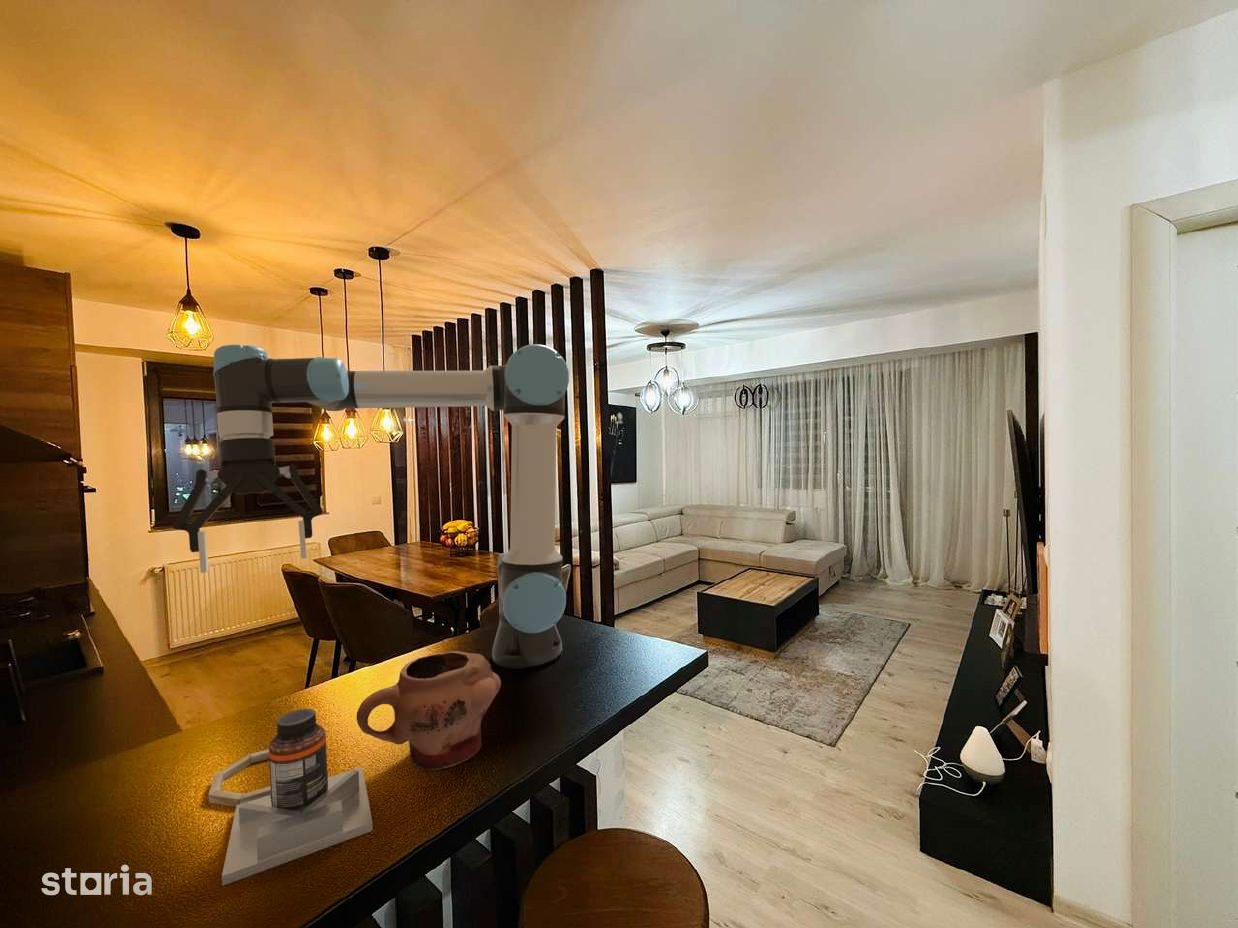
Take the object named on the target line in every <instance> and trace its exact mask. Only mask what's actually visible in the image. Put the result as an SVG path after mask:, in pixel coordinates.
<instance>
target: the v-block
mask: <svg viewBox="0 0 1238 928" xmlns="http://www.w3.org/2000/svg"><path fill="white" fill-rule="evenodd" d="M365 779H366V778H365V775H364V769H363V766H360V767H358V768H357V767H356V768H353V769H350V770H348V771H345V772H341V773H337V774H334V775H331V776H328V791H326V792H325V793H324V794H323V795H322V796H320V797H319V798H318V799H317V800H315V801H314V802H313V803H312V804H310V805H309V806H308V807H307V808H305V809H304V810H303V811H302V812H300V811H293V810H287V809H281V808H274V807H272V804H271V798H270V796H271V795H269V796H265V797H262V798H259V799H256V800H252V801H249V802H246V803H243V804H239V805H237V806H236V807H235V812H234V815H233V822H232V827H231V830H230V836H229V841H228V846H227V850H226V854H225V858H224V859H225V860H224V864H223V869H222V873H221V887H223V886H226V885H229V884H231V883H234V882H236V881H240V880H242V879H245V878H248V877H250V876H254V875H257V874H259V873H262V872H264V871H267V870H270V869H272V868H275V867H278V866H280V865H283V864H286V863H288V862H291V861H293V860H296V859H300V858H302V857H305V856H308V855H310V854H313V853H315V852H318V851H321V850H324V849H327V848H330V847H332V846H334V845H338V844H340V843H343V842H345V841H348V840H350V839H353V838H356V837H359V836H361V835H364V834H367V833H369V832H370V833H371V832H372V831H374V829H373V827H374V825H373V819H372V818H373V817H372V812H371V807H370V801H369V796H368V791H367V786H366V780H365Z"/></svg>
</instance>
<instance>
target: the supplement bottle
mask: <svg viewBox="0 0 1238 928" xmlns="http://www.w3.org/2000/svg"><path fill="white" fill-rule="evenodd" d="M276 726H277V729H276V730H277V731H276V732H277V734H276V735H275V736H274V737H273V738H272V739H271V740H270V741H269V742H270V743H269V746H268V749H269V759H268V760H269V761H268V762H269V765H268V766H269V781H270V782H269V783H270V785H269V786H271V796H270V798H271V804H272V807H274V808H281V809H287V810H293V811H300V812H302V811H303V810H304V809H305V808H307V807H308V806H309V805H310V804H312V803H313V802H314V801H315V800H317V799H318V798H319V797H320V796H322V795H323V794H324V793H325V792H326V791H328V777H329V776H328V758H327V757H328V756H327V755H328V754H327V738H326V737H327V735H326V731H325V728H324V727H323V726H322V725H321V724H319V723H317V716H316V711H315V710H314V709H312V708H301V709H296V710H292V711H289V712H287V713H285V714H283V715H281V716H280V717H279V719H278V720H277V723H276Z"/></svg>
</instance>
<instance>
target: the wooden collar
mask: <svg viewBox="0 0 1238 928" xmlns="http://www.w3.org/2000/svg"><path fill="white" fill-rule="evenodd" d="M266 760H269V748H268V749H264V750H260V751H256V752H252V753H249V754H247V755H245V756H243V757H242V758H241V759H238V760H237V761H235V762H233V763H232V764H230V765H229V766H227V767H225V768H223V769H222V770H221V771H219V772H217V773H215V774H214V775H213V778H212V781H211V785H210V788H209V792H208V803H209V804H216V805H221V806H228V807H233V806H234V808H236V806H237V805H239V804H243V803H246V802H249V801H252V800H256V799H259V798H262V797H265V796H269V795H271V786H270V785H269V786H267V787H264V788H260V789H257V790H253V791H250V792H246V793H239V792H238V793H237V792H232V791H225V790H222V787H223V783H224V781H226V780H228V779H229V778H231V777H233V776H234V775H236V774H238V773H239V772H241V771H242V770H244V769H245V768H247V767H248V766H250V765H252V764H255V763H258V762H262V761H266Z"/></svg>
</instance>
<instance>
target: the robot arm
mask: <svg viewBox="0 0 1238 928" xmlns="http://www.w3.org/2000/svg"><path fill="white" fill-rule="evenodd" d="M569 372H570V370H569V368H568V365H567V363H566V361H565V359H564V358H563V357H562V356H561V354H560V353H559V352H558V351H556V350H555V349H554V348H552V347H549V346H547V345H544V344H540V343H539V344H538V343H534V344H527V345H524V346H522V347H520V348H518V349H517V350H515V351H514V352H513V353H512V354H511V355H510V356H509V357H508V359H507V361H506V363H505V364H503V365H489V366H488V367H487V368H486V369H483V370H347V368H346V365H345V363H344V362H343V360H341V359H340V358H336V357H333V358H332V357H330V358H329V357H323V356H317V357H304V358H270V357H269V356H268V353H267V350H265V349H263V348H261V347H258V346H254V345H245V344H226V345H221V346H219V347H217V348H216V349H215V350H214V352H213V372H212V376H213V379H214V389H215V400H216V419H217V429H218V431H217V432H218V437H220V438H221V439H223V440H220V442H219V443H218V445H219V460H220V467H219V470H205V469H198V470H197V471H196V474H195V475H196V476H195V484H194V485H193V487H192V489H191V491H190V493H189V495H188V496H187V498H186V500H185V502H184V504H183V505H182V508H181V509H180V511H179V513H178V515H177V517H176V518H175V520H174V522H173V524H172V528H173V529H174V530H178V531H184V532H186V533H188V538H189V539H188V540H189V542H188V543H189V550H190V551H191V553H198V554H199V555H198V556H199V567H200V568H199V569H200V571H199V572H200V574H204V573H207V572H209V557H208V556H209V554H208V543H207V530H201V528H202V527H203V526H204V525H205V524H206V522H208V521H209V519H210V518H212V516H213V515H214V514H215V513H216V512H217V510H219V508H220V507H221V506H222V505H223V504H224V503H225V502H226V501H227V500H228V499H229V497H231V496H232V495H233V493H234V494H237V495H242V496H243V495H248V494H251V493H254V494H263V493H265V492H267V491H268V490H269V491H270V492H271V493H273V494H274V495H275V496H276V497H277V498H279V500H281V501H282V502H283V503H285V505H287V506H288V507H289V508H291V509H292V511H294V512H295V513H297V515H299V516H300V517H301V518H302V520H298V533H299V547H300V548H299V549H300V558H301V560H302V559H307V545H306V539H312V537H313V525H312V520H313V519H314V518H316V517H318V516H321V515H322V514H323V512H324V511H323V509H322V508H321V506H320V505H319V503H318V502H317V500H316V499H315V497H314V496H313V495H312V493H311V491H310V490H309V489H308V488H307V486H306V484H305V482H304V481H303V479H301V477H300V475H299V470H298V466H297V465H296V464H291V465H288V466H283V467H278V465H277V464H276V463H277V462H276V452H275V451H276V447H275V441H274V440H273V439H271V437H274V425H273V421H274V420H273V412H272V411H273V409H272V406H273V405H272V404H282V403H283V404H285V403H308V404H311V405H314V406H317V407H319V409H322V410H324V411H328V412H339V411H343V410H355V409H393V408H397V409H399V408H400V409H401V408H443V407H444V408H448V407H449V408H450V407H451V408H452V407H453V408H457V407H487V408H488V409H490V411H493V412H494V411H503V417H504V418H505V420H507V422H508V423H509V424H510V425H511V460H510V461H511V463H510V464H511V466H510V467H511V470H510V476H511V477H510V479H511V480H510V534H509V536H510V539H509V540H510V543H509V546H510V547H509V550H508V551H507V552H503V553H500V554H499V556H498V557H497V565H496V569H497V578H498V579H497V581H498V585H497V586H498V612H499V615H498V617H499V625H498V627H497V631H496V634H495V638H494V642H493V645H492V649H491V651H492V652H491V655H492V656H491V657H492V662H493V663H494V664H496V665H497V666H499V667H503V668H507V669H525V668H524V667H531V666H536V665H540V664H543V663H546V662H548V661H550V660H552V659H554V658H556V657H557V656H558V655H559V654H560V653H561V651H562V652H563V641H562V639H561V636H560V633H559V631H558V628H557V625H556V624H557V623H558V622H559V620H560V619H561V618H562V616H563V614H564V613H565V608H566V604H567V594H566V589H565V588H564V585H563V556H562V554H561V553H559V552H558V550H557V549H556V500H557V498H556V491H557V489H556V488H557V486H556V484H557V480H556V478H557V476H556V475H557V427H558V425H560V423H561V422H562V421H564V419H565V406H566V405H565V403H566V402H565V401H566V400H565V397H566V396H565V395H566V391H567V389H568V387H569V382H570V374H569ZM280 474H281V475H283V476H284V477H285V478H287V479H291V481H292V483H293V484H294V486H295V487H296V489H297V491H299V493H300V494H301V496H302V498H303V499H304V500H305V502H306V503H307V505H308V506H309V507H310V509H311V510H310V511H307V510H306V509H305V508H304V507H302V506H301V505H300V504H299V503H298V502H297V501H295V500H294V499H293V498H292V497H291V496H290V495H288V494H287V493H286V492H285V491H283V490H282V489H281V488H280V487H279V486H278V485H276V484H275V483H274V482H275V481H276V479H277V478H278V477H279V475H280ZM216 478H218V479H219V481H221V482H222V483H223V484H224V485H225V486H224V487H223V489H221V491H219V493H218V494H217V495H216V497H214V499H213V500H211V502H210V503H209V504H208V505H206V507H205V508H204V509H203V510H202V511H201V513H199V515H198V516H197V517H196V518H195V519H194V520H193V521H192V522H188V521H189V519H190V518H191V516H192V514H193V512H194V510H195V508H196V506H197V505H198V502H199V501H200V500H201V497H202V496H203V494H204V492H205V490H206V488H207V485H208V484H211V483H213V482H214V480H215V479H216ZM531 668H532V667H531Z"/></svg>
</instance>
